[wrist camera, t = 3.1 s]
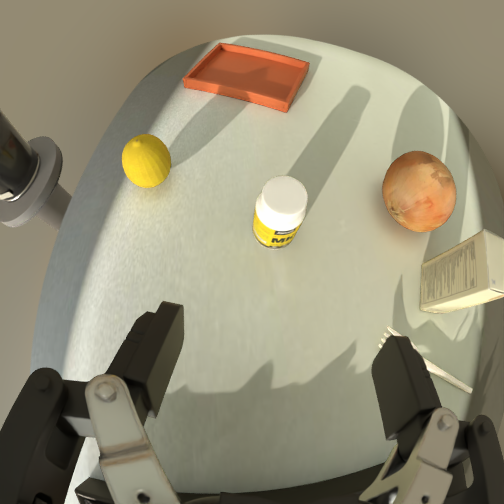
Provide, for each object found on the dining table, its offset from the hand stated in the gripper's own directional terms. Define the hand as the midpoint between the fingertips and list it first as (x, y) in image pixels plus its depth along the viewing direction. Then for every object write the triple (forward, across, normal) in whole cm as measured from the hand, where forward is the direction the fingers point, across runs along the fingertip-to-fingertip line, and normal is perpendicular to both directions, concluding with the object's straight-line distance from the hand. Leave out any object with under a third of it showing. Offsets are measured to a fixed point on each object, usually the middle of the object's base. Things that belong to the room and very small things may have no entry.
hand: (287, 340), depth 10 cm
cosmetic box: (+19, -22, +8) cm, 30 cm away
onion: (+26, -17, 0) cm, 31 cm away
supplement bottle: (+21, 0, +5) cm, 22 cm away
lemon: (+24, +16, +2) cm, 29 cm away
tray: (+40, +8, -14) cm, 44 cm away
